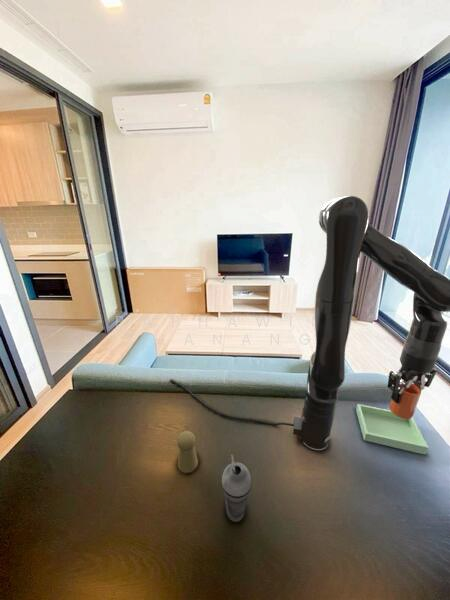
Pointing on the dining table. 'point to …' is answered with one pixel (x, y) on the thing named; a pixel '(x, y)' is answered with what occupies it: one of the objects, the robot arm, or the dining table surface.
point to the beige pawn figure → (187, 452)
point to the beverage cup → (236, 489)
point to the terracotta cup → (406, 402)
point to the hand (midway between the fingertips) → (404, 399)
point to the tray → (390, 429)
